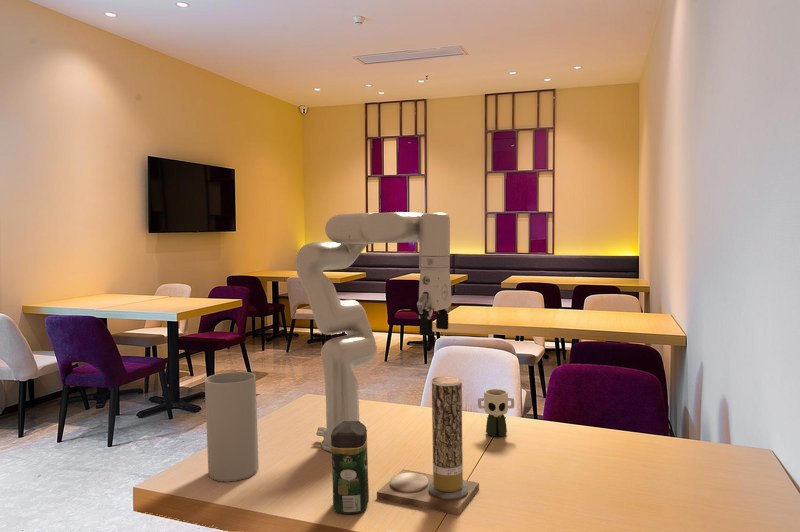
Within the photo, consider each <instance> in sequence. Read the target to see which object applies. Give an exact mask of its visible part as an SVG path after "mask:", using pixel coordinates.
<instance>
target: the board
mask: <svg viewBox="0 0 800 532" xmlns="http://www.w3.org/2000/svg"><path fill="white" fill-rule="evenodd" d="M479 490H480V482H476V481H472V480H471V481H470V480H466V479H463V486H462V487H461V489H460V490H458V491H455V492H442V491H439V490H437V489H436V488H435V487H434V484H433V473H426V472H420V471H414V470H410V469H404V468H403V469H402V470H400V471H399V472H398V473H397V474H395V475H393V476H392V477H391V478H390V480H389V481H387V482H386V484H384V485H383V486H382V487H381V488H380V489H378V490H377V491H376V498H377V499H379V500H384V501H388V502H394V503H398V504H404V505H407V506H413V507H418V508H421V509H428V510H431V511H432V510H433V511H437V512H443V513H447V514H452V515H456V516H459V515H460V514H461V512H463V510H464V509H465V508H466V506H467V505H468V504H469V502H470V501H471V500H472V498H473V497H474V496H475V495H476V494H477V492H478V491H479Z"/></svg>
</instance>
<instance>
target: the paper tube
mask: <svg viewBox="0 0 800 532" xmlns="http://www.w3.org/2000/svg"><path fill="white" fill-rule="evenodd" d="M462 385H463V383H462V379H461V378H460V377H455V376H448V375H447V376H446V375H445V376H437V377H434V378H432V379H431V408H432V409H431V413H432V414H431V416H432V417H431V418H432V420H431V421H432V475H433V484H434V487H435V488H436V489H437V490H439V491H442V492H455V491H458V490H460V489H461V487H462V486H463V480H464V478H463V472H464V471H463V468H464V467H463V463H464V462H463V399H462V398H463V395H462V393H463V392H462V391H463V390H462V387H463V386H462Z"/></svg>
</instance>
